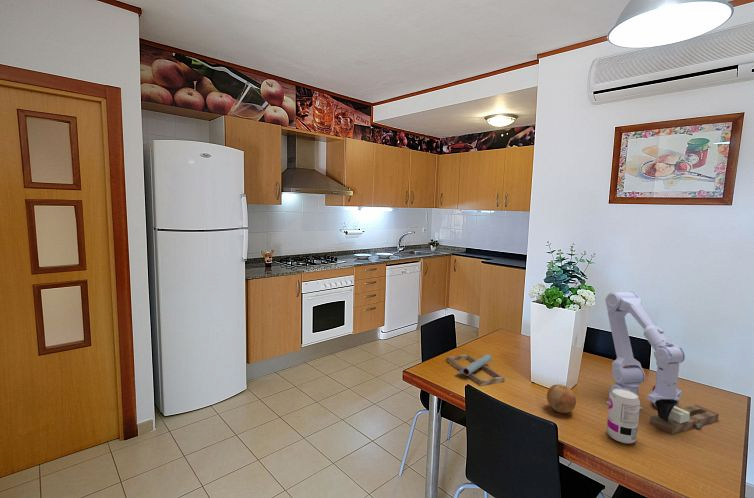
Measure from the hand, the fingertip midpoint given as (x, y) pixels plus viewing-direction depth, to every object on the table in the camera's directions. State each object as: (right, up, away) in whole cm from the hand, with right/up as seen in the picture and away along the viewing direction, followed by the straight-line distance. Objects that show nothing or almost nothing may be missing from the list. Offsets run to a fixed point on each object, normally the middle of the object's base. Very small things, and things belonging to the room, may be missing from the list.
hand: (662, 418), depth 126 cm
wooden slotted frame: (+11, -4, +5) cm, 13 cm away
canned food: (+16, +2, +20) cm, 26 cm away
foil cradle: (-54, +2, +44) cm, 69 cm away
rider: (+6, -4, +3) cm, 7 cm away
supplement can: (-18, -4, -5) cm, 19 cm away
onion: (-30, -2, +10) cm, 32 cm away
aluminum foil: (-54, +4, +43) cm, 69 cm away
